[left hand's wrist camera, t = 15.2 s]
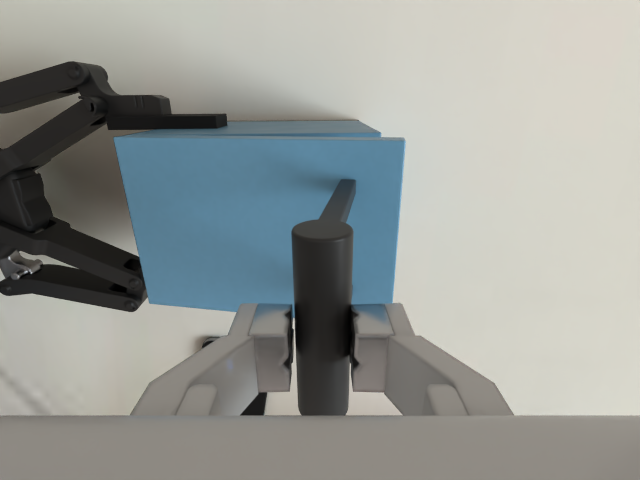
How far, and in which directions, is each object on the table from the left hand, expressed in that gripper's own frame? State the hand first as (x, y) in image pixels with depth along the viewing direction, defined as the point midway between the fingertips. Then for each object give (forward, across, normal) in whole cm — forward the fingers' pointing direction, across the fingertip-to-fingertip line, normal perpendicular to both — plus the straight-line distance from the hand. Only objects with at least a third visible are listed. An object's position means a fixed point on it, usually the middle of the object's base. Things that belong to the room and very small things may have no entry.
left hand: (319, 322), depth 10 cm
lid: (+9, +3, 0) cm, 9 cm away
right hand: (+15, +6, 0) cm, 16 cm away
